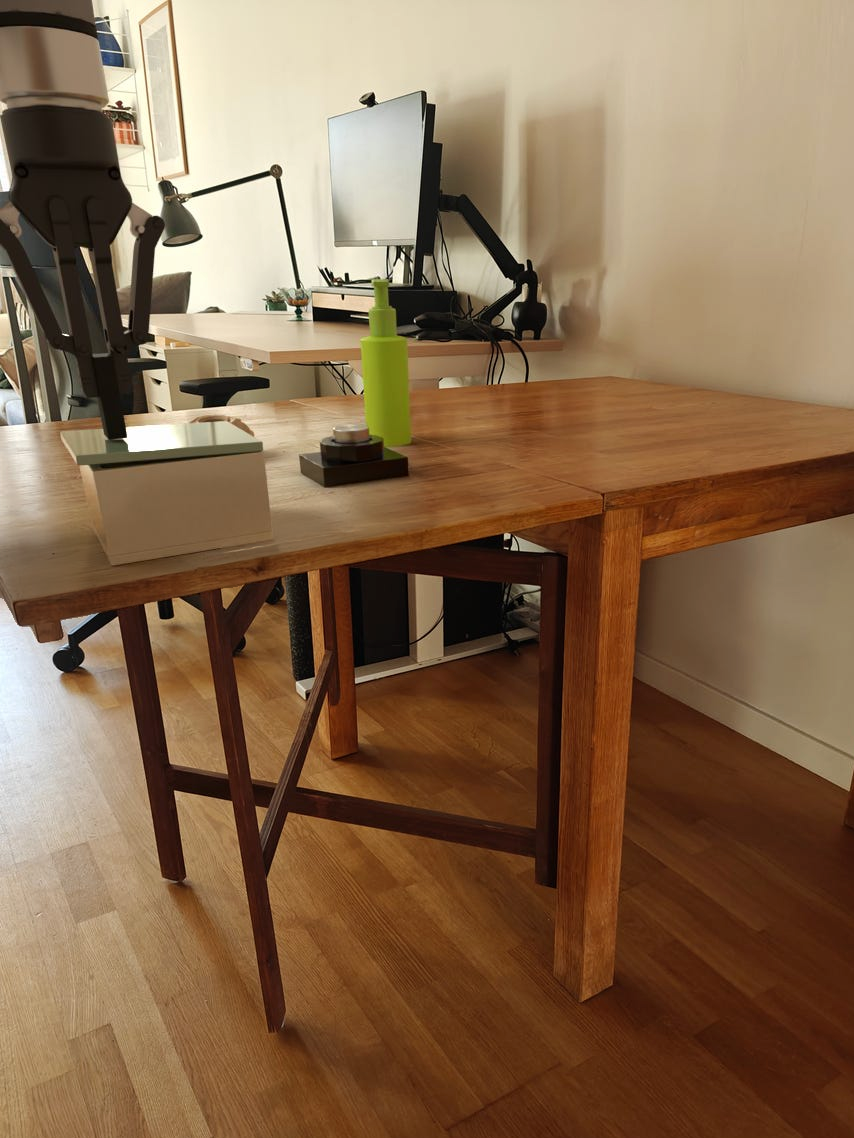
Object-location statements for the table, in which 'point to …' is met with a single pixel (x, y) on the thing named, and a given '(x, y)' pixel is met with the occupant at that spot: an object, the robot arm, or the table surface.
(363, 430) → the silver push button
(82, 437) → the box lid
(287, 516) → the table surface
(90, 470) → the wooden box
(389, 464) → the plate
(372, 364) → the lime green bottle
